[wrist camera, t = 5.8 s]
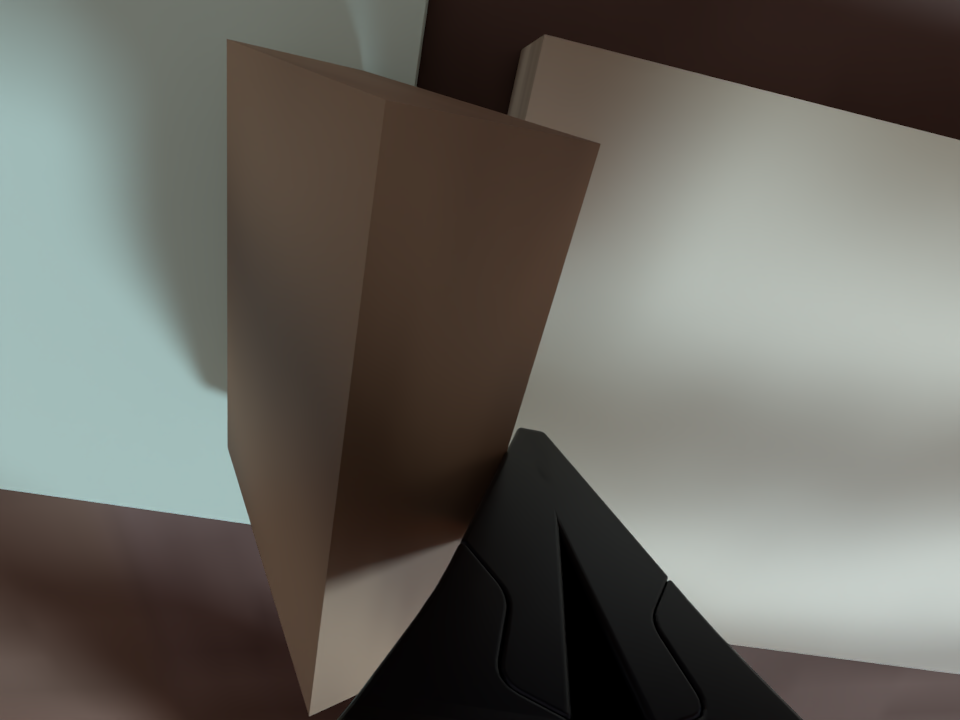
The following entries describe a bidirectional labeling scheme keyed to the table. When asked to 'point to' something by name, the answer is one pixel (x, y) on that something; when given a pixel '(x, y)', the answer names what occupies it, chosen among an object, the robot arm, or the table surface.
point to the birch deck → (761, 352)
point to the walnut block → (377, 334)
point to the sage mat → (136, 233)
